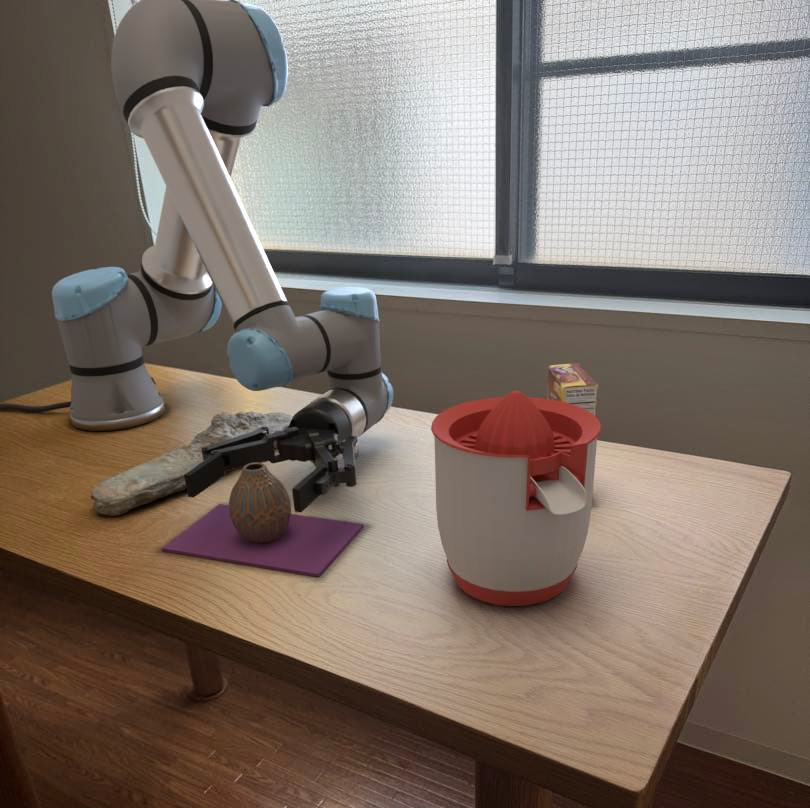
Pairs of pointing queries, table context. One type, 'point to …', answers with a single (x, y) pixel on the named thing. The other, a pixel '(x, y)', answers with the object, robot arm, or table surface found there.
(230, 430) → the long grey stone
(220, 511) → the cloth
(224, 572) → the table surface
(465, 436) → the citrus juicer
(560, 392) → the candy box
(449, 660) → the table surface
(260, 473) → the vase
